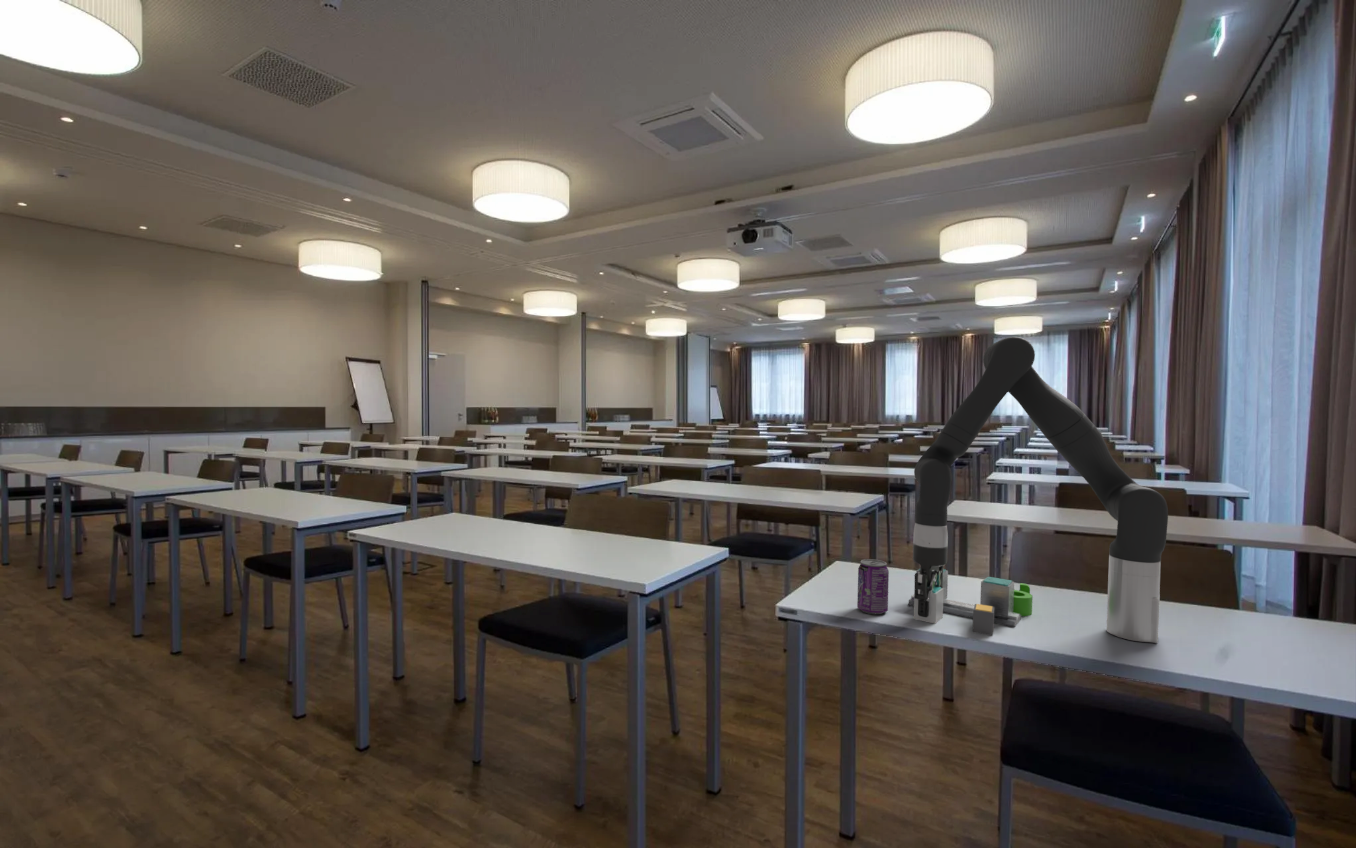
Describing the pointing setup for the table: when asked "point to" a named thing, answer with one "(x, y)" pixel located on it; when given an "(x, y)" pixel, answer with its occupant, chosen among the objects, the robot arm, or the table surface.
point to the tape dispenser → (1023, 600)
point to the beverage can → (873, 586)
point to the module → (932, 606)
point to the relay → (983, 619)
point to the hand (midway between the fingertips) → (928, 612)
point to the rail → (985, 600)
